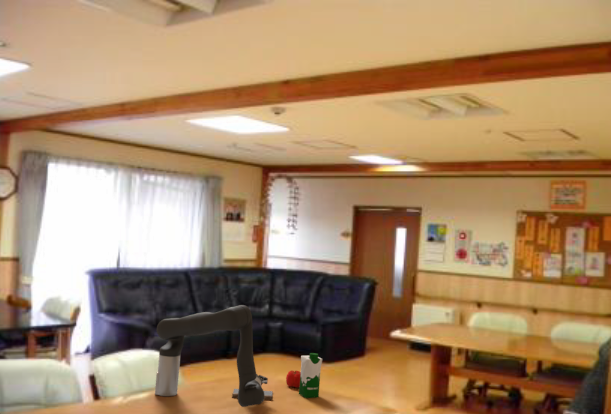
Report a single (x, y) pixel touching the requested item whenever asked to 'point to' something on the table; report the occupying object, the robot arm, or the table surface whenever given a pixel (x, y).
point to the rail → (267, 397)
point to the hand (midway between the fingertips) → (254, 374)
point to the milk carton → (310, 376)
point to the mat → (264, 392)
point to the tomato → (293, 379)
